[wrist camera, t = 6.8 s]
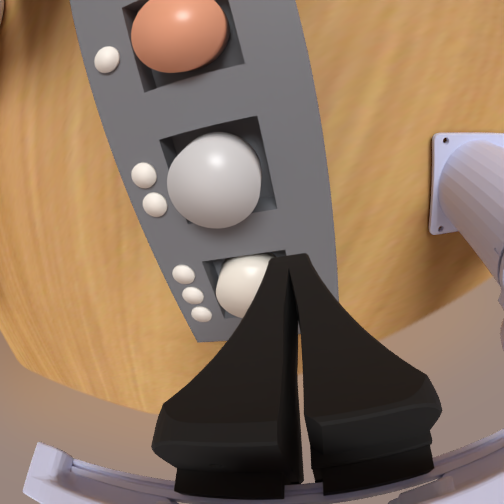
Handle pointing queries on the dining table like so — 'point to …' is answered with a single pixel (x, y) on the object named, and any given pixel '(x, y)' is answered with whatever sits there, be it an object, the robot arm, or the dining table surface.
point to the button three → (241, 281)
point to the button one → (179, 34)
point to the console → (216, 120)
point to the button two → (215, 180)
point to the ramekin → (1, 9)
